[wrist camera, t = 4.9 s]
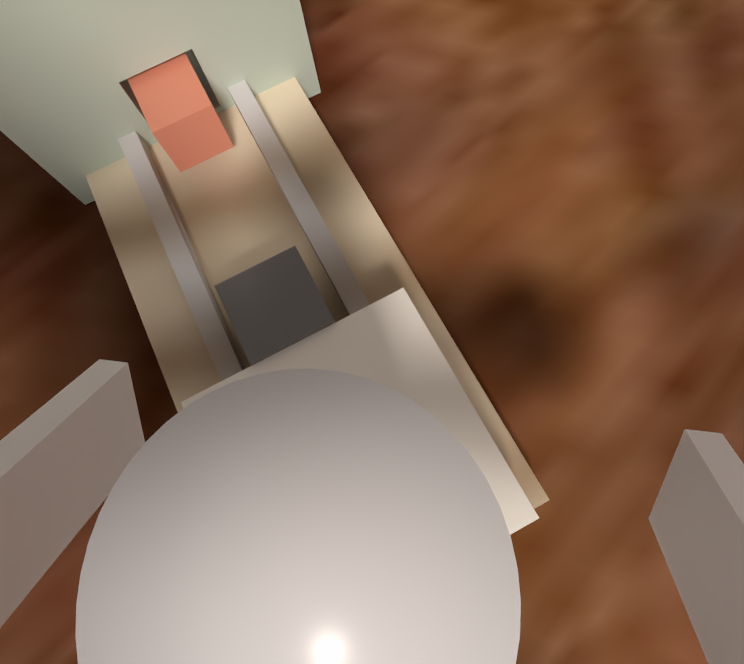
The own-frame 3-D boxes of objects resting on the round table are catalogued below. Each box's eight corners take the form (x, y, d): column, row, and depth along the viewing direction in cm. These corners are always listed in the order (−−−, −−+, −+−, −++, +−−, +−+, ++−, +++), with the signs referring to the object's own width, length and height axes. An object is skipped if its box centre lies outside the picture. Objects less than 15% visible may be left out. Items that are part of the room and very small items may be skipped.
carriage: (167, 334, 18) (-280, 46, 7) (365, 235, 19) (283, -196, 7) (294, 648, 15) (-144, 1211, 3) (529, 516, 16) (886, 586, 4)
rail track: (105, 195, 23) (70, 161, 21) (301, 101, 24) (289, 58, 22) (284, 641, 17) (263, 665, 15) (538, 499, 18) (557, 500, 16)
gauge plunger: (148, 103, 22) (117, 58, 20) (198, 79, 22) (174, 32, 20) (180, 172, 21) (152, 133, 19) (233, 146, 21) (212, 104, 19)
